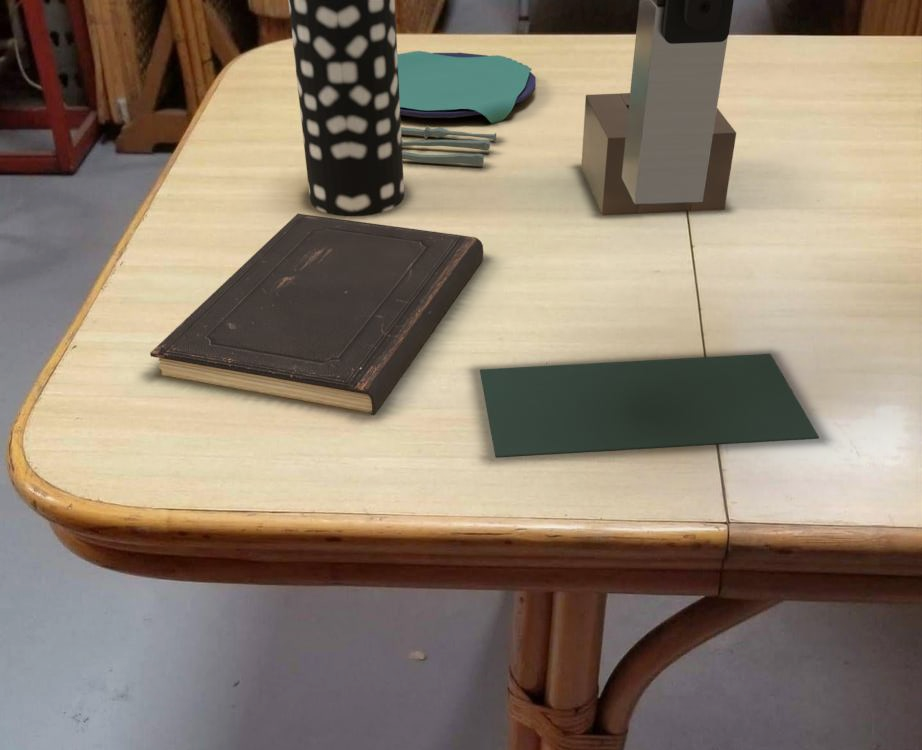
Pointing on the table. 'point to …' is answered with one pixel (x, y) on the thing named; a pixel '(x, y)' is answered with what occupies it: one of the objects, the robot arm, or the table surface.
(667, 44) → the brushed metal bar
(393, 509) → the table surface
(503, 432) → the mat
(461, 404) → the table surface
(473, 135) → the cutlery set
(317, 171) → the spotted tube
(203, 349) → the hardcover book
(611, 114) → the holder
